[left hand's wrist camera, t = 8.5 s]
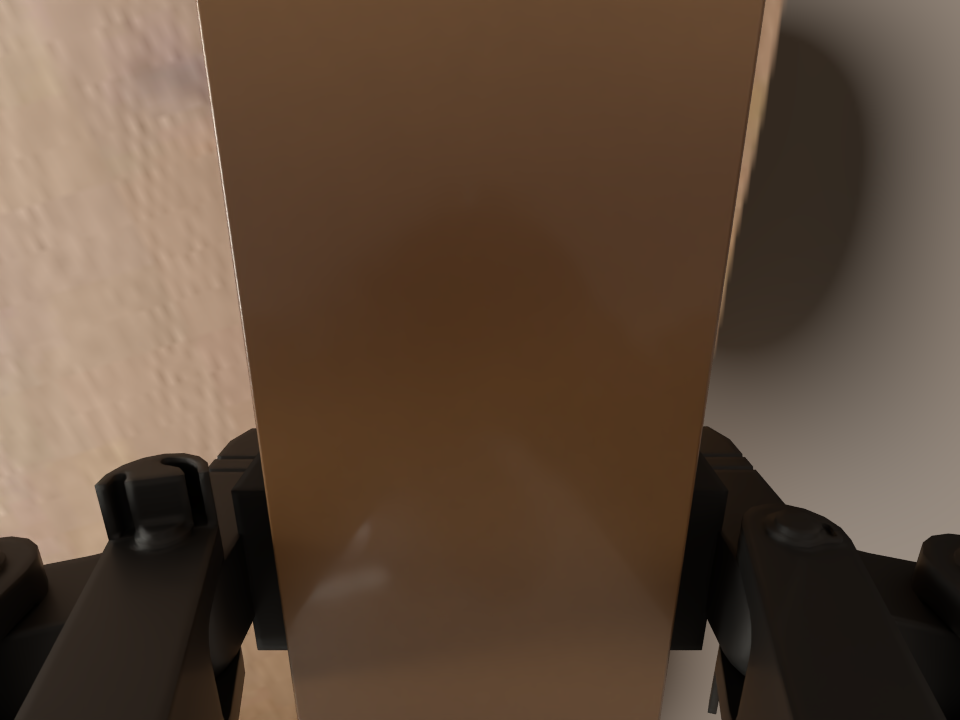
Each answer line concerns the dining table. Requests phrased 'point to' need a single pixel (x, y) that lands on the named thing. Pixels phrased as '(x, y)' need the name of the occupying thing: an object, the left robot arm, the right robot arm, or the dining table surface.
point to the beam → (479, 333)
